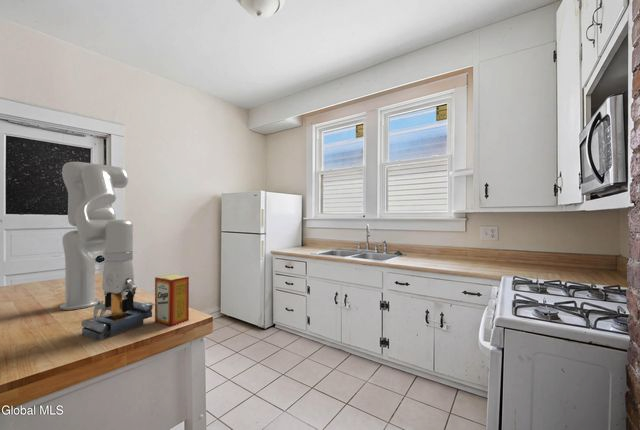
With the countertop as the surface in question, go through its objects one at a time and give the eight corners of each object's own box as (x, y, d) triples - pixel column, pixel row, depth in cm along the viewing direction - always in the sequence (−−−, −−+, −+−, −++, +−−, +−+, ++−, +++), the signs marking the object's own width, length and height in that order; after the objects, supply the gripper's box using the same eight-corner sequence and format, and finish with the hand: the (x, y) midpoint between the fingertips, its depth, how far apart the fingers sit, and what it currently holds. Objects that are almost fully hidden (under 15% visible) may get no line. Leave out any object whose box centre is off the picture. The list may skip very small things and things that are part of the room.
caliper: (94, 319, 101) (94, 302, 101) (93, 318, 102) (93, 301, 102) (154, 305, 117) (155, 290, 117) (153, 304, 118) (153, 290, 118)
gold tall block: (108, 329, 92) (108, 292, 92) (121, 325, 95) (121, 290, 95) (115, 331, 90) (115, 294, 90) (128, 327, 93) (128, 291, 94)
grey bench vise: (81, 334, 87) (81, 314, 87) (135, 317, 102) (135, 300, 102) (98, 340, 83) (98, 319, 83) (152, 322, 98) (152, 303, 98)
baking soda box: (155, 321, 98) (155, 276, 99) (172, 315, 104) (172, 273, 104) (171, 326, 94) (171, 279, 94) (188, 320, 99) (188, 275, 100)
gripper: (92, 257, 93) (91, 308, 93) (122, 260, 86) (122, 316, 85) (116, 254, 100) (116, 302, 100) (146, 257, 92) (146, 308, 92)
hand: (119, 308), depth 93 cm, fingers open, 9 cm apart
